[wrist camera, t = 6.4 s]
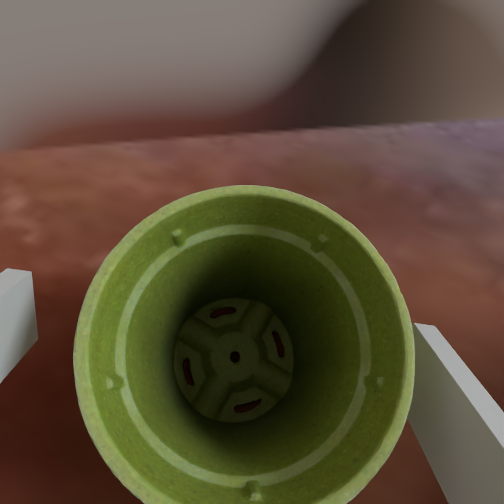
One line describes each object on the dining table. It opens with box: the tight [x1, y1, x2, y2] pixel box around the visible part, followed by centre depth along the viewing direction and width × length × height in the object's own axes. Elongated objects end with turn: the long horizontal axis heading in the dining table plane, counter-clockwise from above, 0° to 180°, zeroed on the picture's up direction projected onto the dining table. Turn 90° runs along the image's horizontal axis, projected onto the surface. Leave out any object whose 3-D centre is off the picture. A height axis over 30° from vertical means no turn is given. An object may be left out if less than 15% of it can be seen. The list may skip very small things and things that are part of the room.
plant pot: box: [73, 185, 415, 504], centre depth 14 cm, size 9×9×9 cm
